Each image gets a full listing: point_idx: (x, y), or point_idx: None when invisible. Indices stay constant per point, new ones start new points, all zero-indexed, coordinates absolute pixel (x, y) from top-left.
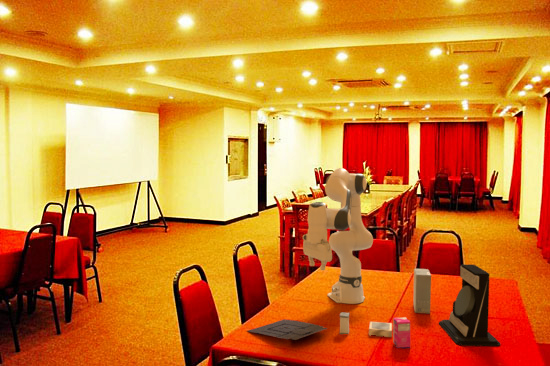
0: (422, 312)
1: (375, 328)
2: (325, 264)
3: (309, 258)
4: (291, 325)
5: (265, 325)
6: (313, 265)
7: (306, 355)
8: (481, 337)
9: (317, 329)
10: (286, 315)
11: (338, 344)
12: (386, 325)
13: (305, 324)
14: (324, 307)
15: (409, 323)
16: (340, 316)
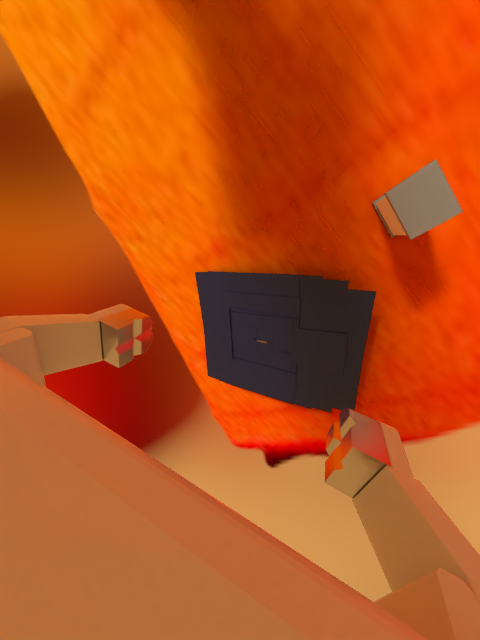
0: None
1: None
2: (458, 549)
3: (41, 374)
4: (254, 316)
5: (204, 333)
6: (148, 328)
7: (401, 415)
8: None
9: (347, 315)
10: (174, 241)
11: (442, 312)
12: None
13: (277, 289)
14: (171, 61)
15: None
16: (414, 236)
